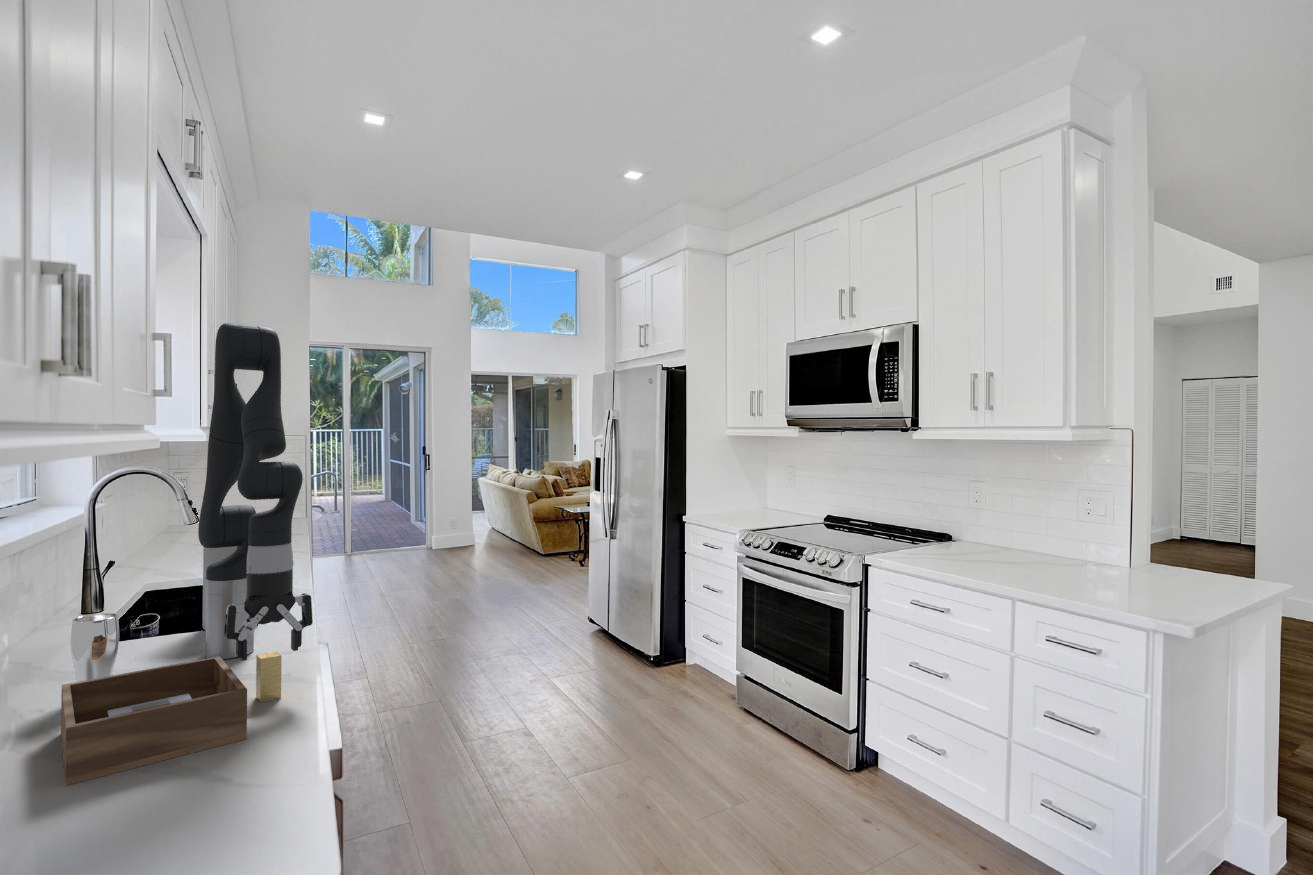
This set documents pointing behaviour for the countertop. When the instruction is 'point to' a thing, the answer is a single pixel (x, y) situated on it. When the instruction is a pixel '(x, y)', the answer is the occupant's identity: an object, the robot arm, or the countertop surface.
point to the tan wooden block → (268, 676)
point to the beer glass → (94, 645)
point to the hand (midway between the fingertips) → (269, 654)
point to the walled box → (149, 717)
